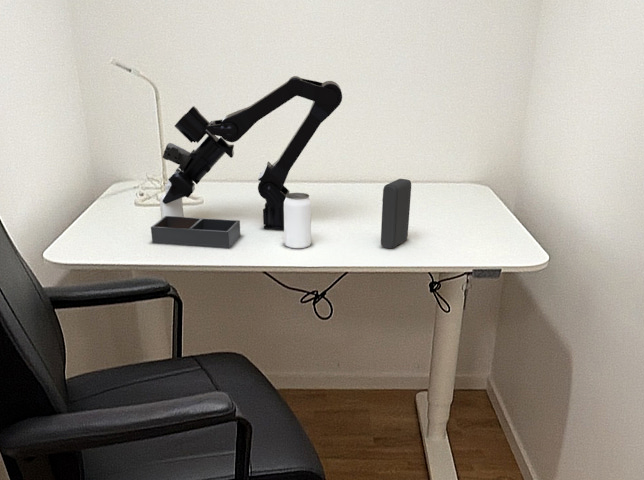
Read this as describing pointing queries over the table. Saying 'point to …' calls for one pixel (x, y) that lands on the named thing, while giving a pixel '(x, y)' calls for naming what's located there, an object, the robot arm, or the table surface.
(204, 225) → the divided tray
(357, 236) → the table surface
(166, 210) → the eye dropper bottle
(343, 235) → the table surface
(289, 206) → the can
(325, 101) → the robot arm
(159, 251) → the table surface
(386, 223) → the dark grey upright block
